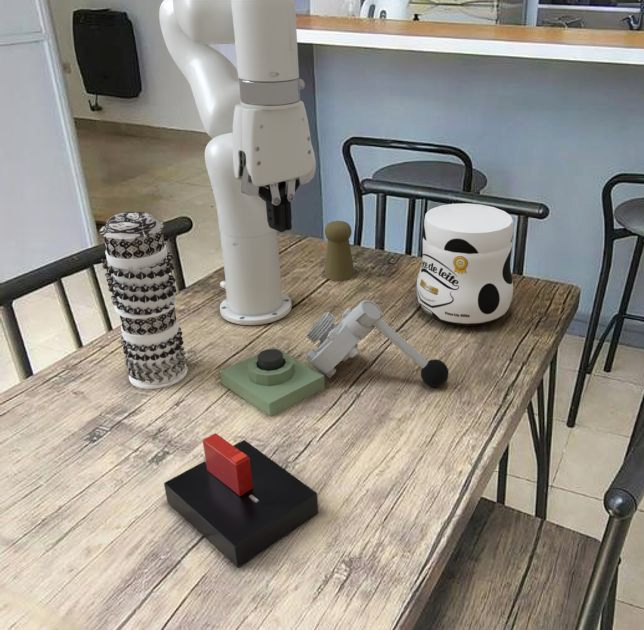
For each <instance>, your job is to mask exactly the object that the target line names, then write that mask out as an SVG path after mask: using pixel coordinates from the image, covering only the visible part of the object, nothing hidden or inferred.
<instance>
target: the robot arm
mask: <svg viewBox="0 0 644 630" xmlns="http://www.w3.org/2000/svg"><path fill="white" fill-rule="evenodd" d="M295 1H296V0H162V2H161V4H160V6H159V10H158V19H159V27H160V30H161V33H162V37H163V40H164V43H165V46H166V49H167V51H168V53H169V55H170V57H171V58H172V60H173V62H174V64H175V65H176V66H177V68H178V69H179V70H180V72H181V73H182V75H183V76H184V77H185V79H186V80H187V82H188V84H189V86H190V89H191V94H192V96H193V99H194V102H195V106H196V109H197V112H198V115H199V118H200V121H201V123H202V126H203V128H204V131H205V133H206V134H207V135H208V136H209V137H210V139H211V140H209V141H208V142H207V144H206V146H205V150H204V163H205V168H206V172H207V174H208V178H209V181H210V185H211V190H212V193H213V197H214V202H215V208H216V214H217V223H218V231H219V237H220V246H221V254H222V262H223V270H224V278H225V280H222V281H220V283H219V286H220V288H222V289H224V290H225V295H226V297H225V298H224V299H223V301H221V303H220V305H219V313H220V315H221V317H222V318H223V319H224V320H226V321H227V322H229V323H232V324H235V325H241V326H260V325H261V326H262V325H267V324H270V323H274V322H277V321H279V320H282V319H283V318H285V317H287V315H288V314H290V312H291V310H292V305H293V303H292V299H291V298H290V297H289V296H288V295H287V294H286V293H284V292H283V287H282V276H281V264H280V250H279V238H278V235H279V234H278V232H280V233H284V232H286V231H290V230H292V228H293V227H292V220H293V219H292V218H293V216H292V202H293V201H294V200H295V194H296V192H297V190H298V188H299V187H300V186H304V185H307V184H308V183H310V182H311V181H312V180H313V178H314V177H315V175H316V169H317V161H316V154H315V151H314V146H313V144H312V138H311V131H310V124H309V119H308V115H307V110H306V106H305V103H304V101H302V100H301V91H302V90H304V89H306V85H305V84H306V83H305V80H304V79H301V78H300V70H299V50H298V33H297V14H296V2H295ZM212 45H216V46H217V45H235V56H236V66H235V65H234V63H233V62H232V61H231V60H230V59H229V58H227V56H225V55H224V54H223V53H221V52H220V51H219V50H217V49H216V48H214V47H212Z"/></svg>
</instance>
